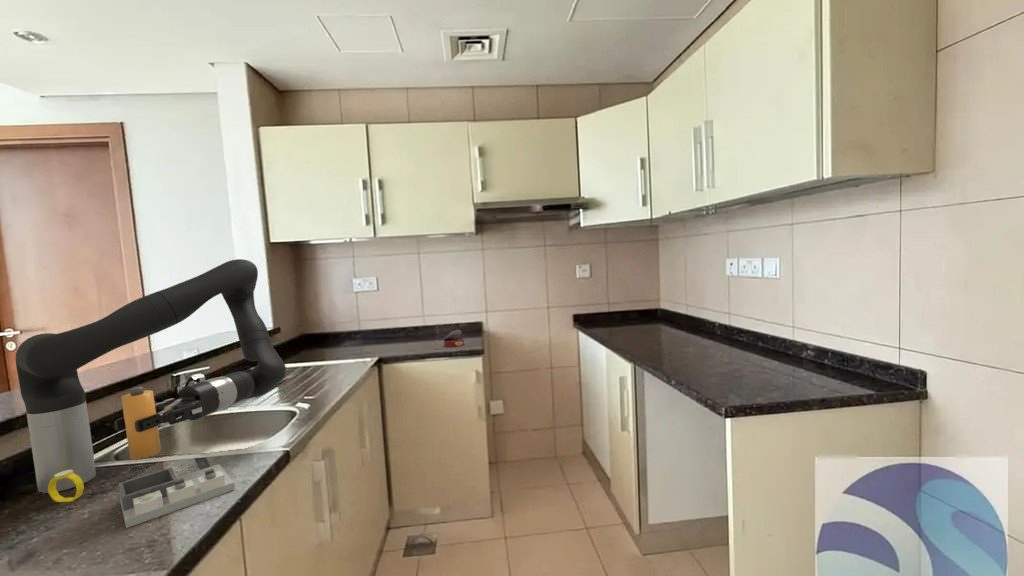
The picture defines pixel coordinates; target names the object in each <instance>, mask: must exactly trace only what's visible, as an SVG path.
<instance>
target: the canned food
mask: <svg viewBox="0 0 1024 576" xmlns="http://www.w3.org/2000/svg"><path fill="white" fill-rule="evenodd" d="M462 333H463V331H462V330H460V329H455V330H452V331H450V332H449V333H448V334H447V335H446V336H445V337H444V338H443V343H444V344H443V346H444V347H445V348H458V347H462V346H464V345H465V342H464V341H465V339H464V338H463V337H459V336H460V335H461V334H462Z"/></svg>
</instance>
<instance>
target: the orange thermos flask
mask: <svg viewBox="0 0 1024 576" xmlns="http://www.w3.org/2000/svg"><path fill="white" fill-rule="evenodd" d="M154 401H155V396H154V391H153V390H148V389H146V390H144V386H136V387H133V388H130V389H129V393H127V394H125V395H122V396H121V405H122V412H123V417H124V420H125V427H126V429H125V433H126V439H127V447H128V452H129V453H128V454H129V459H130V460H141V459H146V458H150V457H152V456H155V455H157V454H159V453H160V452H161V451H162V445H161V440H160V439H161V438H160V430H159V425H158V426H156V427H153V428H150V429H148V430H145V431H143V432H136V429H135V422H136V421H137V420H140V419H143V418H146V417H149V416H151V415H154V414H156V409H155V402H154Z"/></svg>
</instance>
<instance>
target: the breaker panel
mask: <svg viewBox="0 0 1024 576" xmlns="http://www.w3.org/2000/svg"><path fill="white" fill-rule="evenodd" d="M118 489H119V490H118V491H119V495H118V496H119V501H120V502H119V503H120V506H121V511H122V516H123V520H124V521H123V522H124V525H125V528H126V529H128V528H131V527H134V526H137V525H139V524H141V523H145V522H147V521H151V520H154V519H156V518H159V517H162V516H164V515H167V514H170V513H174V512H177V511H178V510H182V509H184V508H187V507H190V506H193V505H196V504H198V503H200V502H201V503H202V502H204V501H207V500H210V499H212V498H216V497H218V496H220V495H223V494H227V493H229V492H231V490H232V491H234V490H233V489H235V490H236V487H235V481H234V480H233V478H231V477H230V476H229V474H228V473H227V472H226V470H225V469H224V468H223V467H222V466H221V465H220V463H217V464H214V465H211V466H209V467H205V468H201V469H198V470H196V471H193V472H190V473H187V474H186V473H185V474H182V475H179V476H176V474H175V472H174V471H173V468H172V467H168V468H165V469H162V470H158V471H156V472H155V471H154V472H152V473H148V474H145V475H142V476H138V477H135V478H132V479H128V480H125V481H122V482H119V483H118Z"/></svg>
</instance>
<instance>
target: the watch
mask: <svg viewBox="0 0 1024 576" xmlns="http://www.w3.org/2000/svg"><path fill="white" fill-rule="evenodd" d="M66 477H67V478H69V479H71V480H72V481H73V482H74V484H75V485H76V487H75V488H76V492H75V496H74V497H64V496H62V495H61V494H60V493H59V491H57V490H56V482H57V480H58V479H62V478H66ZM84 485H85V483H83V481H82V479H81V478H80V477H79V476H78V475H76V474H74V473H73V470H66V471H62V472H60V473H57V474H55V475H54V478H53V479H51V481H50V483H49V485H48V493H47V494H48V495H49V497H50V498H51V500H53V501H54V502H56V503H57V502H59V503H71V502H72V503H73V502H75V501H76V500H78V499H79V498H80V497H81V496H82V495H83V493H84V490H85V486H84Z"/></svg>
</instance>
